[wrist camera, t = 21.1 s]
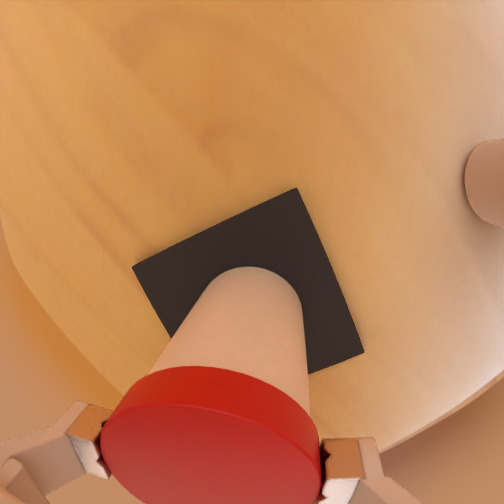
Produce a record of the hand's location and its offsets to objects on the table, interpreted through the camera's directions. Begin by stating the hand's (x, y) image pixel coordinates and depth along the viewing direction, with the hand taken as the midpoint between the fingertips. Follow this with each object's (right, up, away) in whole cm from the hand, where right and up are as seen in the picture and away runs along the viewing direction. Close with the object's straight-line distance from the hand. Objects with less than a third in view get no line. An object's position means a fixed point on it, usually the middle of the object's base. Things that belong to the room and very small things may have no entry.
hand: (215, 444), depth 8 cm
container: (0, +1, +4) cm, 4 cm away
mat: (+1, +2, +10) cm, 10 cm away
